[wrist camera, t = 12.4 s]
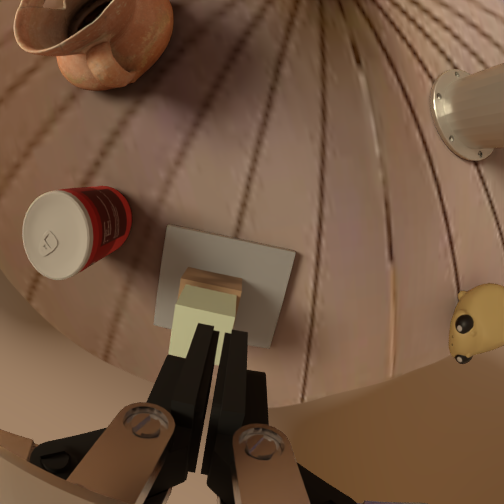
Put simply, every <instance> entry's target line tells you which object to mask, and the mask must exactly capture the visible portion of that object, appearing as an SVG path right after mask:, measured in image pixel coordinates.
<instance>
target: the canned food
mask: <svg viewBox="0 0 504 504" xmlns="http://www.w3.org/2000/svg"><path fill="white" fill-rule="evenodd" d="M131 225H132V213H131V208H130V206H129V203H128V201H127V200H126V199H125V197H124V196H123V195H122V194H121V193H120V192H119V191H117V190H115V189H114V188H111V187H107V186H95V187H82V188H70V189H61V190H54V191H50V192H47V193H44V194H42V195H40V196H39V197H38V198H37V199H35V200H34V202H33V203H32V204H31V205H30V207H29V209H28V211H27V213H26V216H25V218H24V223H23V235H22V236H23V244H24V248H25V252H26V254H27V256H28V259H29V260H30V262H31V264H32V265H33V266H34V268H35V269H36V270H37V271H38V272H39V273H41V274H42V275H43V276H45V277H47V278H50V279H54V280H63V279H67V278H69V277H72V276H74V275H76V274H77V273H79V272H81V271H83V270H84V269H86V268H87V267H89V266H91V265H92V264H94V263H95V262H97V261H99V260H100V259H102V258H104V257H105V256H107V255H108V254H110V253H112V252H113V251H115V250H117V249H118V248H119V247H120V246H121V245H122V244H123V243H124V242H125V240H126V239H127V237H128V235H129V232H130V229H131Z"/></svg>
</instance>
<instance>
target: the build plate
mask: <svg viewBox="0 0 504 504" xmlns="http://www.w3.org/2000/svg"><path fill="white" fill-rule="evenodd" d="M295 254H296V252H295V251H294V250H290V249H285V248H281V247H276V246H271V245H267V244H262V243H257V242H253V241H248V240H243V239H239V238H234V237H229V236H224V235H220V234H215V233H210V232H205V231H201V230H196V229H191V228H186V227H181V226H177V225H172V224H169V225H167V230H166V236H165V242H164V248H163V255H162V262H161V269H160V276H159V284H158V291H157V300H156V308H155V317H154V325H156V326H160V327H164V328H168V329H172V324H173V317H174V311H175V304H176V302H177V300H178V293H179V287H180V280H181V277H182V275H183V274H184V272H185V271H186V269H187V267H191V268H196V269H200V270H205V271H210V272H214V273H219V274H224V275H229V276H233V277H238V278H242V293H241V297H240V302H239V306H238V310H237V315H236V319H235V324H234V328H233V330H238V331H244V332H248V345H250V346H256V347H262V348H268V349H270V345H271V342H272V338H273V335H274V331H275V328H276V324H277V321H278V317H279V314H280V310H281V307H282V303H283V299H284V296H285V292H286V288H287V284H288V281H289V277H290V273H291V269H292V266H293V262H294V258H295Z"/></svg>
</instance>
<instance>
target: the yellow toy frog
mask: <svg viewBox="0 0 504 504" xmlns="http://www.w3.org/2000/svg"><path fill="white" fill-rule="evenodd" d="M458 299H459V302H458V304H457V306H456V308H455V311H454V315H453V317H452V320H451V324H450V333H449V350H450V353H451V355H452V356H453V357H454V358H455V359H456V361H457V362H459V363H460V364H465V363H467V362H469V361H470V360H471V359H472V356H473V355H476V354H480V353H484V352H487V351H490V350H494V349H496V348H499V347H501V346H504V287H503V286H501V285H498V284H491V283H488V284H482V285H479V286H477V287H475V288H473V289H471V290H469V291H468V292H466V291H460V292H459V293H458Z"/></svg>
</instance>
